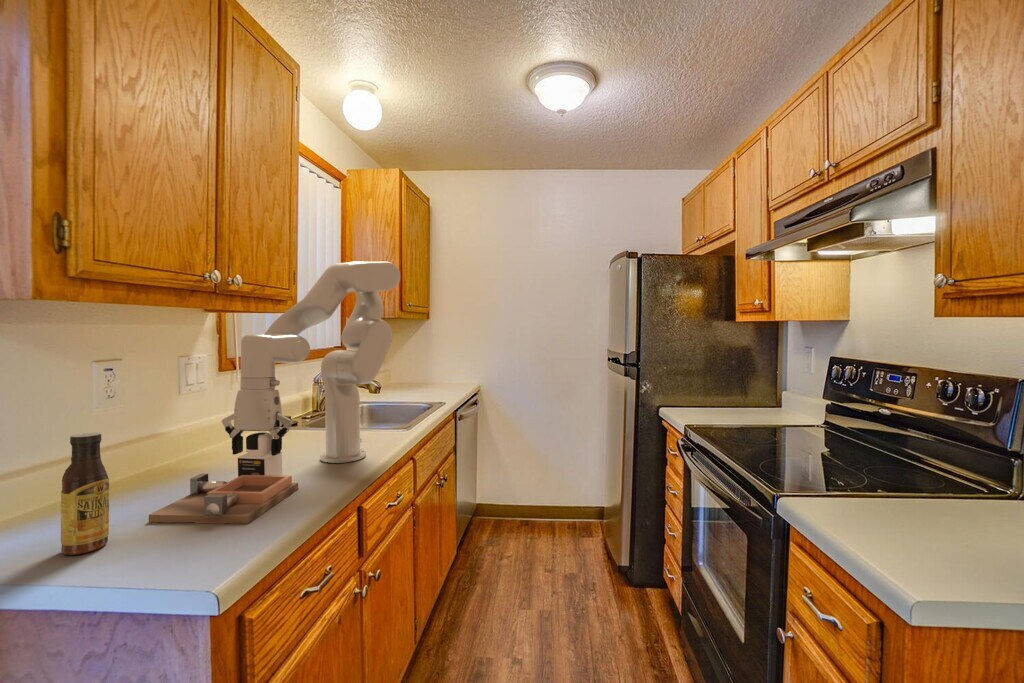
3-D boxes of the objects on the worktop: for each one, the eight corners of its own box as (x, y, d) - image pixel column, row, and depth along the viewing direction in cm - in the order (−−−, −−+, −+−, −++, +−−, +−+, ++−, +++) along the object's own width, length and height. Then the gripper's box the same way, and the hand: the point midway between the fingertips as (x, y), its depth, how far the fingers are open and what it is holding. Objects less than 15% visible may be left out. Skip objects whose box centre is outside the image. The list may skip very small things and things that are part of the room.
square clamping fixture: (216, 488, 113) (215, 466, 113) (298, 488, 113) (297, 467, 112) (148, 522, 93) (148, 496, 93) (247, 523, 93) (247, 497, 92)
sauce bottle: (80, 559, 79) (76, 440, 78) (50, 555, 80) (47, 438, 79) (120, 541, 85) (117, 431, 85) (92, 538, 86) (89, 430, 86)
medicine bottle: (237, 485, 115) (236, 436, 115) (257, 476, 122) (256, 430, 122) (264, 487, 114) (263, 437, 114) (282, 477, 121) (282, 431, 121)
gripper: (299, 383, 121) (298, 451, 121) (233, 382, 121) (232, 449, 121) (284, 386, 113) (283, 458, 113) (213, 385, 114) (212, 456, 114)
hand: (256, 453), depth 117 cm, fingers open, 9 cm apart
